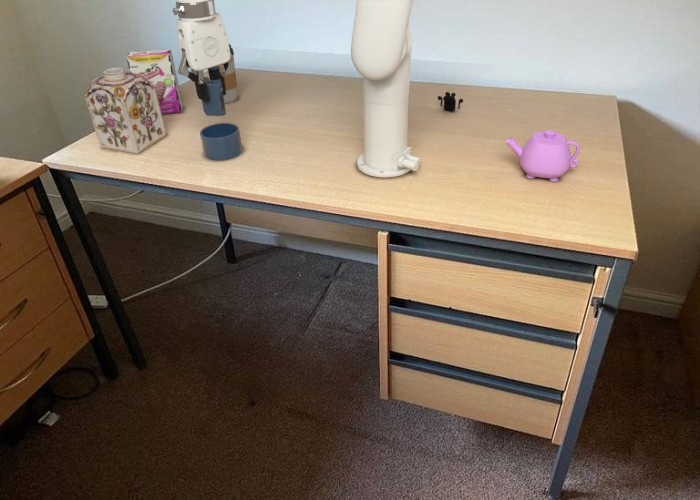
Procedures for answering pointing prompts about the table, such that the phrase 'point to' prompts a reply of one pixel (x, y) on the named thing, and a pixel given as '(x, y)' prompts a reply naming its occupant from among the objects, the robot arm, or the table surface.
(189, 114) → the table surface
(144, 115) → the decorative jar
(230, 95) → the coffee cup
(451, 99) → the wireless earbuds
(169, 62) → the candy bar box
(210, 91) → the vaping device
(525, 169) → the teapot
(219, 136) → the pen cup
